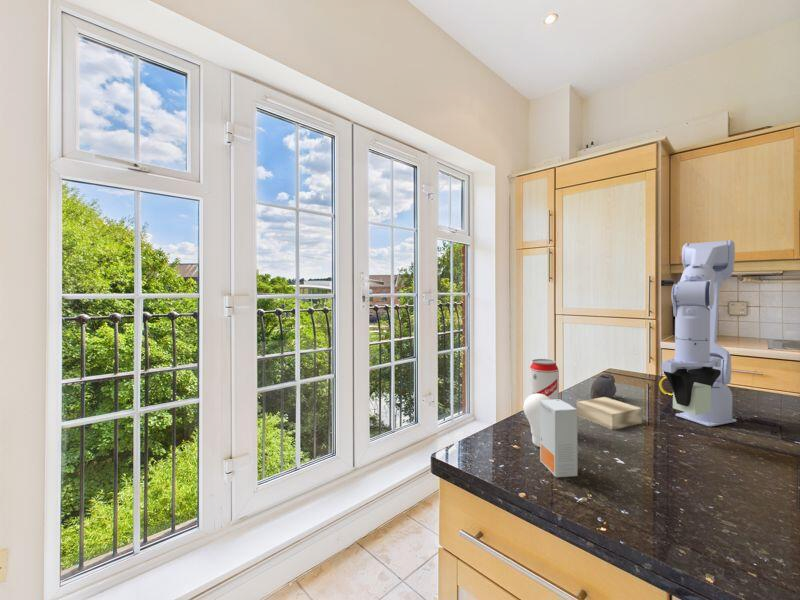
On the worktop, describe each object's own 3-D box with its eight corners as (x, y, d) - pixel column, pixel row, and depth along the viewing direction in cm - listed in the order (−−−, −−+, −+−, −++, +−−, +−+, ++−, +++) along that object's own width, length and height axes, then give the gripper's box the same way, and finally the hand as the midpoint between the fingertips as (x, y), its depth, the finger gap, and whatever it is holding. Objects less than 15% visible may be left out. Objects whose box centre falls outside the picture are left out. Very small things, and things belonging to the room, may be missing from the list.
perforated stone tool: (604, 410, 97) (604, 384, 97) (582, 406, 101) (582, 381, 101) (619, 397, 108) (619, 374, 108) (599, 394, 112) (599, 371, 112)
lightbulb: (553, 442, 78) (553, 391, 78) (556, 454, 73) (555, 399, 72) (523, 438, 80) (523, 389, 80) (523, 450, 75) (523, 397, 74)
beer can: (561, 436, 81) (561, 364, 81) (532, 434, 83) (531, 363, 82) (555, 425, 88) (555, 358, 87) (528, 423, 89) (527, 358, 88)
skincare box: (539, 461, 70) (538, 399, 69) (560, 460, 70) (560, 398, 70) (555, 478, 64) (555, 410, 63) (578, 477, 64) (578, 409, 64)
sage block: (687, 405, 80) (688, 380, 80) (710, 412, 76) (711, 385, 75) (672, 408, 78) (672, 382, 78) (695, 415, 74) (695, 388, 74)
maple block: (604, 411, 97) (604, 396, 97) (641, 424, 88) (641, 408, 88) (576, 417, 94) (576, 401, 94) (612, 431, 84) (612, 414, 84)
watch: (684, 397, 109) (686, 377, 108) (682, 399, 107) (684, 379, 106) (660, 391, 113) (662, 372, 113) (657, 393, 111) (659, 374, 111)
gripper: (687, 343, 70) (686, 413, 71) (738, 339, 75) (737, 405, 75) (652, 339, 77) (651, 402, 78) (700, 335, 82) (700, 395, 82)
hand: (691, 403), depth 77 cm, fingers closed on sage block, 4 cm apart
